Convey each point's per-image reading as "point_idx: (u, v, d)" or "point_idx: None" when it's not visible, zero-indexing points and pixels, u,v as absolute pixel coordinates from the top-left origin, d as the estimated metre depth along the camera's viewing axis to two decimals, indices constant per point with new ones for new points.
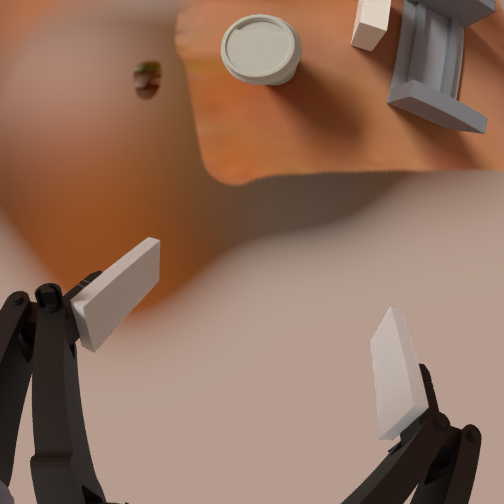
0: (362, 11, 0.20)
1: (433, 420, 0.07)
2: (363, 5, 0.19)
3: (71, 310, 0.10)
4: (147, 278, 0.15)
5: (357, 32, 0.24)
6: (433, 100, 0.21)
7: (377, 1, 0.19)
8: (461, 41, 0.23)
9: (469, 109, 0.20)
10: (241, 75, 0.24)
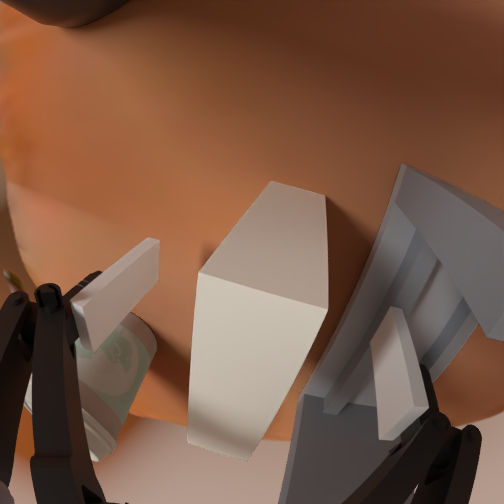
0: (190, 429, 0.10)
1: (434, 420, 0.07)
2: (190, 421, 0.10)
3: (71, 310, 0.10)
4: (147, 278, 0.15)
5: None
6: None
7: (226, 422, 0.09)
8: None
9: None
10: None
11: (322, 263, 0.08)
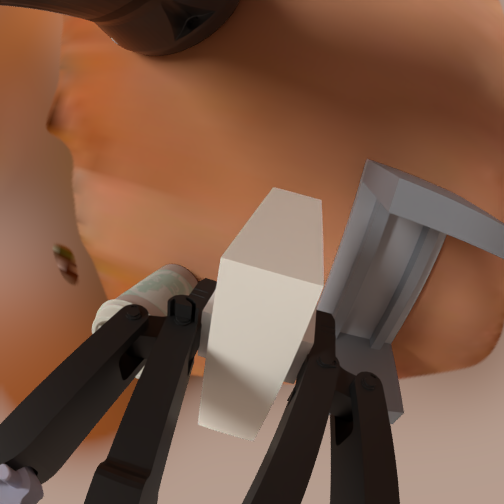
0: (201, 410, 0.12)
1: (316, 360, 0.10)
2: (202, 401, 0.12)
3: (198, 320, 0.11)
4: None
5: None
6: None
7: (236, 398, 0.11)
8: (440, 241, 0.23)
9: None
10: None
11: (318, 253, 0.10)
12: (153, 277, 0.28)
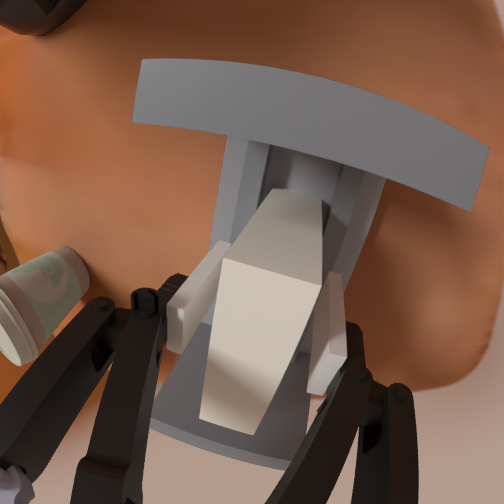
0: (203, 404, 0.12)
1: (351, 373, 0.09)
2: (204, 395, 0.12)
3: (164, 314, 0.11)
4: None
5: None
6: (184, 439, 0.15)
7: (237, 393, 0.11)
8: (371, 204, 0.16)
9: (257, 455, 0.14)
10: (5, 354, 0.18)
11: (317, 253, 0.10)
12: (34, 259, 0.21)
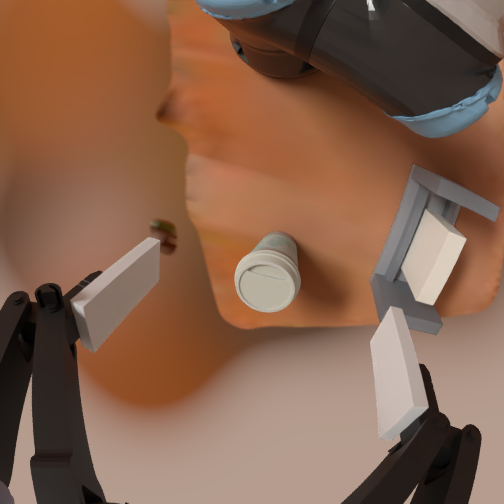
0: (421, 290, 0.31)
1: (433, 420, 0.07)
2: (424, 284, 0.31)
3: (71, 310, 0.10)
4: (147, 278, 0.15)
5: (410, 285, 0.35)
6: None
7: (437, 279, 0.30)
8: (455, 216, 0.35)
9: (427, 322, 0.33)
10: (252, 308, 0.37)
11: (459, 232, 0.29)
12: (272, 238, 0.40)
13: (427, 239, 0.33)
